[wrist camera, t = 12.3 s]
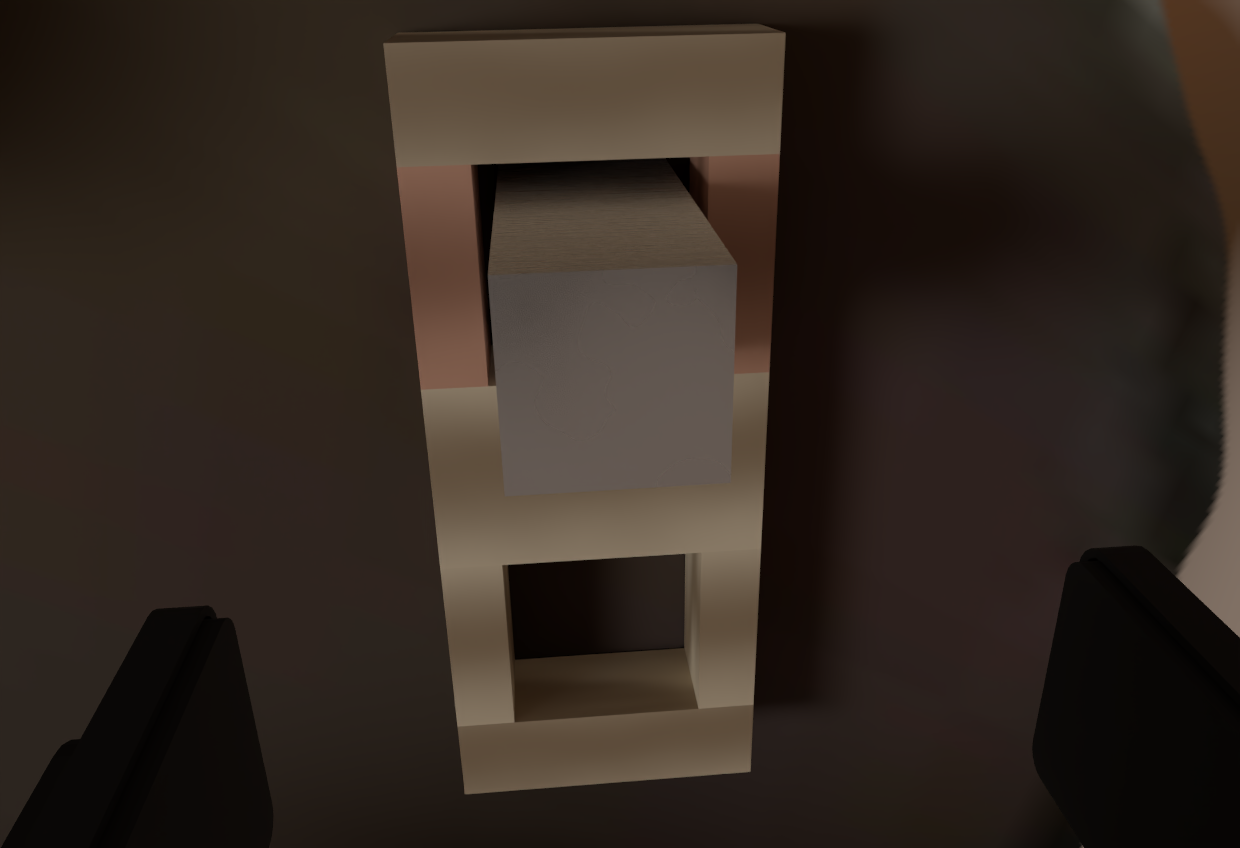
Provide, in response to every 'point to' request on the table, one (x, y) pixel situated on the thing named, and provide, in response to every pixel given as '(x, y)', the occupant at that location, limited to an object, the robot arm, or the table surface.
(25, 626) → the table surface
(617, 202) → the peg
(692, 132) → the block with square holes
